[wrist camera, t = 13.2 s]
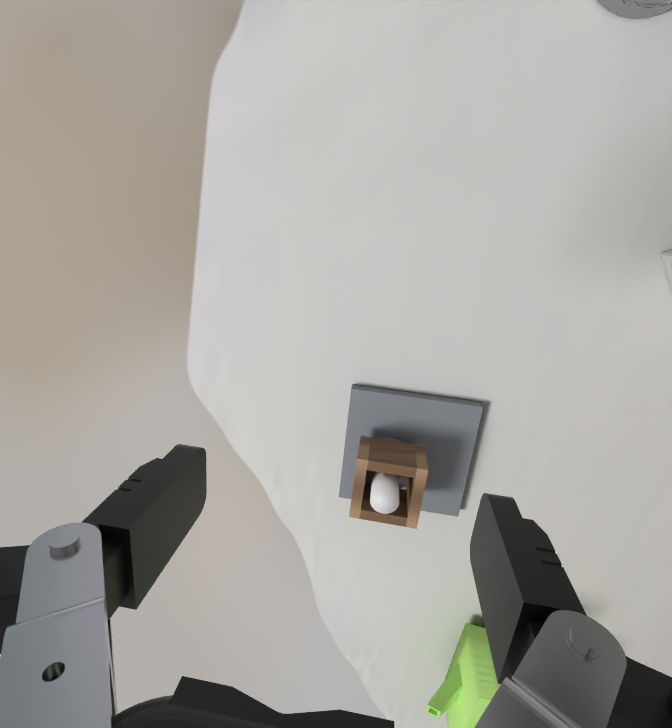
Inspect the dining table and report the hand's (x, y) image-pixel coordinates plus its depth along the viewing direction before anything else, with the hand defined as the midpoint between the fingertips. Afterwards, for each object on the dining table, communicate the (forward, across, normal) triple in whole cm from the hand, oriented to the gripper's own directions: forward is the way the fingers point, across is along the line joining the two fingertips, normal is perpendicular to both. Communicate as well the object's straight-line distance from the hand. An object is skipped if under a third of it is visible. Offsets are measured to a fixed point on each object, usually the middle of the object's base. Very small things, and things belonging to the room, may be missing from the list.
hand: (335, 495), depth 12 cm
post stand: (+30, -5, +15) cm, 34 cm away
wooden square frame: (+27, -3, +16) cm, 32 cm away
